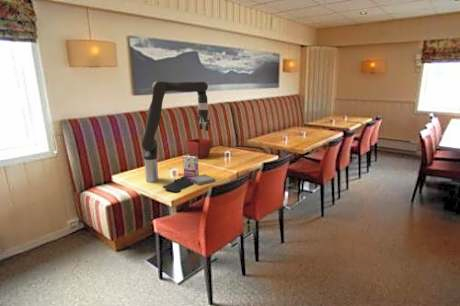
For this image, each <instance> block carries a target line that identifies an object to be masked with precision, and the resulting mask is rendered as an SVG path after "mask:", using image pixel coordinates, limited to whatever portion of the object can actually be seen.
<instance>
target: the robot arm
mask: <svg viewBox="0 0 460 306" xmlns="http://www.w3.org/2000/svg"><path fill="white" fill-rule="evenodd" d="M151 85H152V86H151V89H152V96H151V97H152V99H151V101H150V106H149V108H148V111H147V115H146V121H145V122H146V123H145V131H144V134H143V138H142V141H141V147H142V149H143V150H144V155H143V157H144V160H143V161H144V170H145V182H148V183H155V182H158V181H159V179H160V178H159V168H158V142H157V140H156V138H155V136H156V132H157V129H158V127H159V125H160V121H161V117H162V109H163V102H164V97H165V93H166V92H182V93H184V92H185V93H189V92H190V93H191V92H197V110H198V111H197V112H198V115H197V124H198V126H199V130H203V124H204V128H205V129H204V130H205V131H206V132H207V131H209V126H210V125H211V121H210V120H211V119H210V117H209V116H208V115H209V105H208V104H209V103H208V96H207V90H208V88H209V85H208V83H207V82H205V81H195V82H193V81H180V82H175V81H174V82H170V81H161V80H156V81H154V82H153V83H152V84H151Z"/></svg>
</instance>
